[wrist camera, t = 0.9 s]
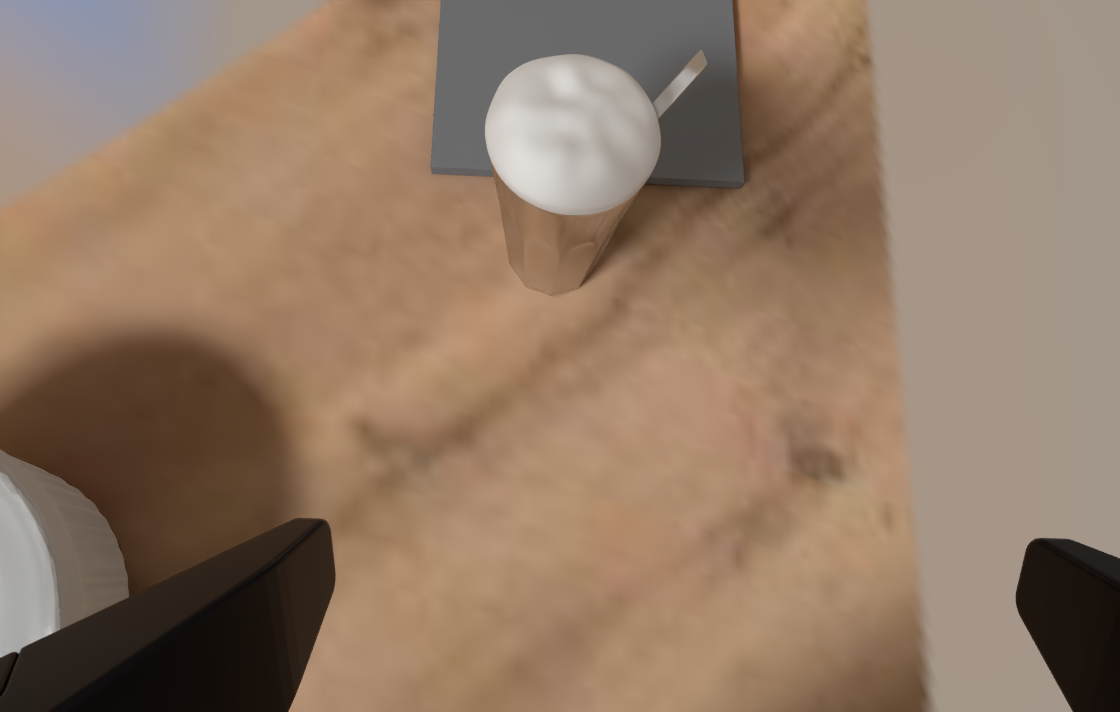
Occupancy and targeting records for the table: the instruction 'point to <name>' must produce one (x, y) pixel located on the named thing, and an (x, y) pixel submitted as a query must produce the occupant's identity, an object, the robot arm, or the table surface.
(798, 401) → the table surface
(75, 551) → the ramekin
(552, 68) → the milkshake
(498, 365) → the table surface
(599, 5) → the mat
